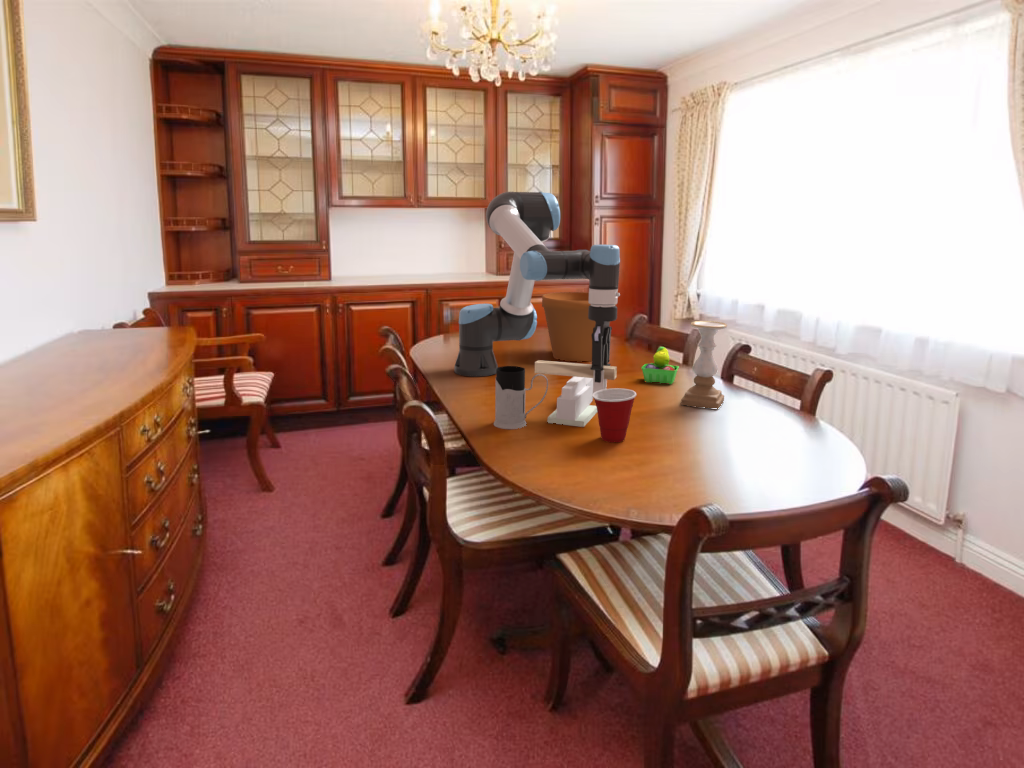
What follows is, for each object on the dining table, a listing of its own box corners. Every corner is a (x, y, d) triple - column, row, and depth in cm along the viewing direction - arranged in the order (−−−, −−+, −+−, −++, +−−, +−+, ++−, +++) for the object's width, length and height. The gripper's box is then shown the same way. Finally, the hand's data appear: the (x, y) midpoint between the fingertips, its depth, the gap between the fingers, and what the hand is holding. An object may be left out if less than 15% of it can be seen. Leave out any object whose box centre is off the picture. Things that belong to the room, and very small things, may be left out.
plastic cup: (586, 432, 177) (588, 387, 174) (628, 431, 178) (630, 386, 175) (594, 446, 167) (596, 398, 164) (639, 445, 168) (641, 398, 165)
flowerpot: (536, 362, 258) (537, 299, 252) (545, 348, 285) (546, 291, 279) (612, 366, 254) (615, 302, 248) (614, 351, 281) (616, 293, 275)
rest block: (573, 398, 209) (573, 376, 207) (592, 400, 207) (593, 378, 205) (565, 405, 201) (566, 382, 200) (585, 407, 199) (586, 384, 198)
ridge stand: (563, 407, 200) (564, 373, 197) (597, 411, 196) (599, 376, 194) (547, 422, 185) (548, 386, 183) (583, 427, 182) (585, 390, 179)
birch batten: (538, 370, 193) (538, 360, 192) (616, 377, 186) (616, 366, 185) (534, 372, 190) (534, 362, 189) (613, 380, 183) (614, 368, 182)
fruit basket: (639, 382, 230) (641, 349, 227) (645, 376, 238) (647, 344, 235) (674, 386, 226) (677, 352, 223) (679, 380, 234) (681, 347, 231)
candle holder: (724, 401, 208) (731, 322, 202) (718, 410, 199) (725, 327, 193) (687, 396, 213) (693, 319, 207) (680, 405, 203) (685, 324, 197)
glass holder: (494, 419, 188) (494, 365, 184) (546, 420, 188) (548, 366, 184) (492, 428, 180) (492, 372, 176) (547, 429, 179) (548, 373, 175)
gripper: (610, 309, 172) (606, 400, 178) (623, 302, 187) (619, 386, 193) (581, 307, 175) (578, 397, 180) (596, 300, 189) (593, 384, 195)
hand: (599, 391), depth 186 cm, fingers closed on birch batten, 3 cm apart
